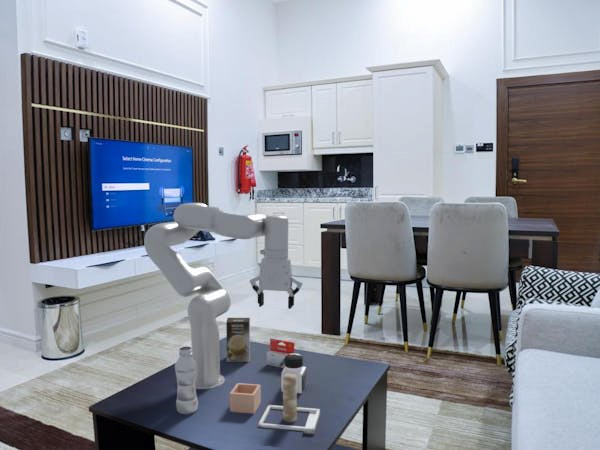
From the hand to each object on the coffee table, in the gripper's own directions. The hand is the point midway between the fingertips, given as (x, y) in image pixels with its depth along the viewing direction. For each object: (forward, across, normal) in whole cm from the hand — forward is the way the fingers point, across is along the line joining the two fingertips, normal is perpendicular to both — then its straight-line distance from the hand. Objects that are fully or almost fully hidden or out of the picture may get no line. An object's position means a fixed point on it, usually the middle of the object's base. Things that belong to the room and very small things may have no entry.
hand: (275, 306), depth 156 cm
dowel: (+29, +9, -16) cm, 34 cm away
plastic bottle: (+30, -23, -17) cm, 42 cm away
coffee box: (+31, -22, +28) cm, 47 cm away
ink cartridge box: (+30, -4, +25) cm, 39 cm away
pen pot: (+30, -6, -11) cm, 32 cm away
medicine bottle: (+30, +5, +5) cm, 31 cm away
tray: (+30, +9, -16) cm, 35 cm away
